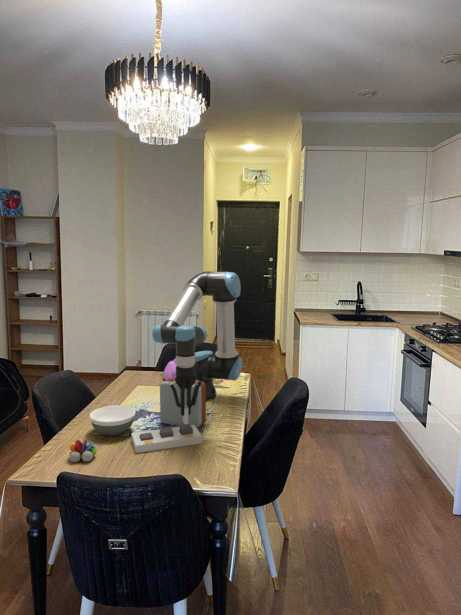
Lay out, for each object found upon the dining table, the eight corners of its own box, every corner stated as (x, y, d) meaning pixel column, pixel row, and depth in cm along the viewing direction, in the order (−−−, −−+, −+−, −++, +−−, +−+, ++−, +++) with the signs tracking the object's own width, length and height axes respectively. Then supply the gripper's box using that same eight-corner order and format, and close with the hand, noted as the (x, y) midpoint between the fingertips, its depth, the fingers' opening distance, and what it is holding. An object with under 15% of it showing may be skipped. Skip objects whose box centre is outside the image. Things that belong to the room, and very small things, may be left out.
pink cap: (188, 385, 257) (188, 364, 255) (160, 385, 258) (159, 363, 256) (192, 374, 279) (192, 354, 277) (166, 373, 279) (166, 354, 278)
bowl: (95, 444, 183) (94, 424, 182) (86, 427, 200) (85, 409, 198) (141, 435, 192) (141, 416, 190) (129, 420, 208) (128, 402, 207)
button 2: (190, 431, 191) (190, 424, 191) (192, 436, 187) (192, 428, 187) (179, 433, 190) (179, 425, 189) (182, 437, 186) (182, 430, 185)
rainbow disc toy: (72, 453, 176) (71, 435, 175) (98, 452, 177) (98, 434, 176) (66, 464, 168) (65, 445, 167) (94, 463, 168) (93, 444, 167)
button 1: (151, 440, 186) (150, 432, 186) (153, 444, 182) (152, 436, 182) (140, 441, 185) (139, 434, 184) (141, 446, 181) (141, 438, 180)
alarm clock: (206, 421, 207) (206, 376, 204) (198, 429, 198) (198, 382, 195) (168, 416, 213) (168, 372, 210) (159, 423, 204) (158, 378, 201)
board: (194, 431, 196) (194, 424, 196) (202, 443, 185) (202, 435, 184) (131, 440, 187) (131, 432, 187) (135, 453, 176) (135, 445, 176)
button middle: (170, 434, 189) (170, 427, 188) (173, 438, 184) (173, 431, 184) (160, 436, 187) (159, 428, 187) (162, 440, 183) (162, 432, 183)
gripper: (198, 361, 190) (198, 417, 193) (167, 364, 185) (167, 421, 189) (203, 366, 183) (203, 424, 186) (171, 369, 178) (171, 428, 182)
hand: (185, 422), depth 187 cm, fingers closed
